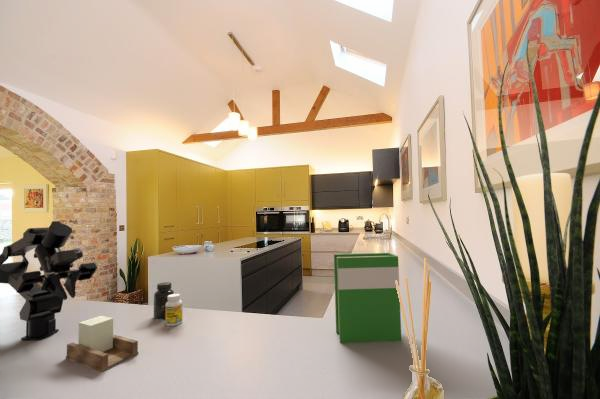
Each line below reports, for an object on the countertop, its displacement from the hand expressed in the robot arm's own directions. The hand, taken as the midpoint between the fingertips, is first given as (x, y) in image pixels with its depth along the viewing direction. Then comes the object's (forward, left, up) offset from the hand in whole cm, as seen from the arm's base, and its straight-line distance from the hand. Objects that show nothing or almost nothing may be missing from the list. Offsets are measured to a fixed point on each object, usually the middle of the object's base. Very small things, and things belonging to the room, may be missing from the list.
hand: (70, 297), depth 82 cm
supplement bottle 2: (+24, +15, -14) cm, 31 cm away
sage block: (+12, -6, -14) cm, 19 cm away
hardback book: (+88, +2, -14) cm, 89 cm away
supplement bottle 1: (+17, +22, -14) cm, 31 cm away
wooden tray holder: (+15, -7, -14) cm, 21 cm away
